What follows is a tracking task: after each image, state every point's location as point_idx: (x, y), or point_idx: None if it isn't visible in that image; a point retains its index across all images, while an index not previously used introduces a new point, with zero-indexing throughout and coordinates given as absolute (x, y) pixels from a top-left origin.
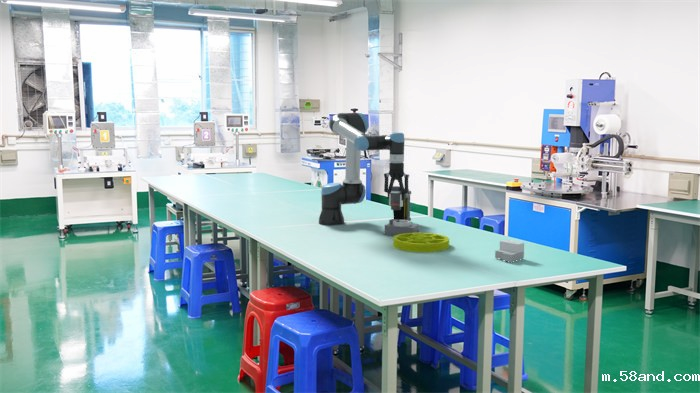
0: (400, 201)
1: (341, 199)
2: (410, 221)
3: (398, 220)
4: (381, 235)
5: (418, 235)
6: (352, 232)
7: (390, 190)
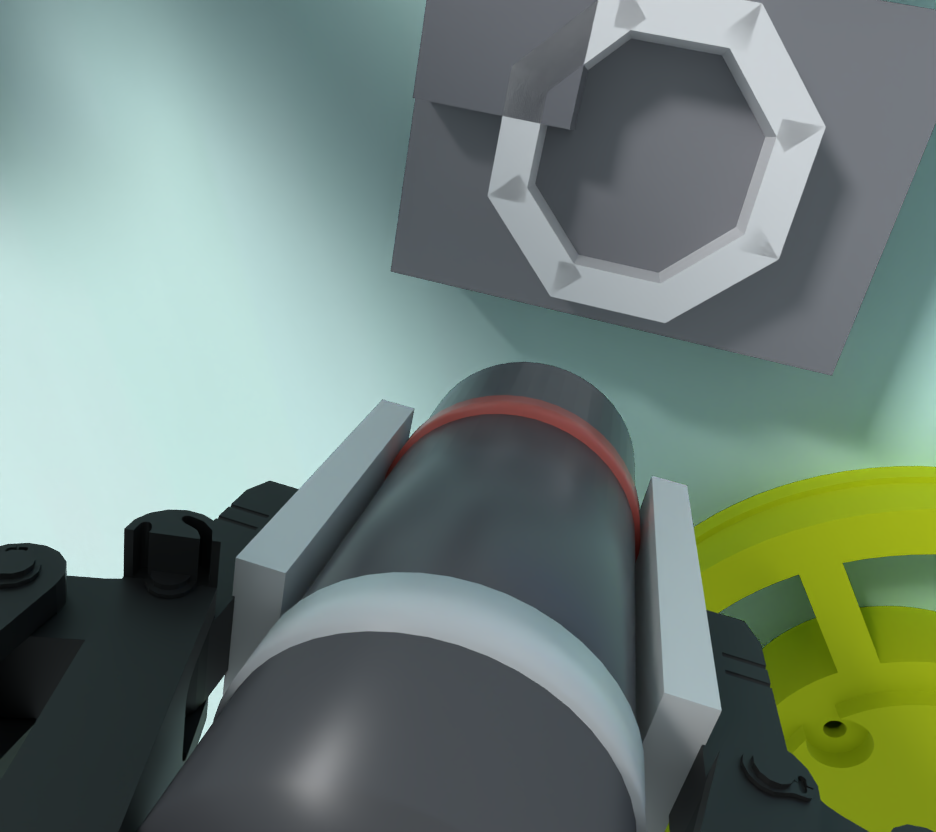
0: None
1: None
2: (808, 137)
3: (573, 85)
4: (399, 298)
5: (884, 759)
6: (54, 194)
7: (161, 655)
